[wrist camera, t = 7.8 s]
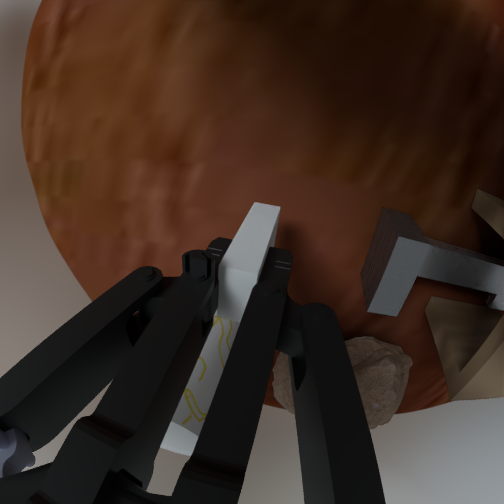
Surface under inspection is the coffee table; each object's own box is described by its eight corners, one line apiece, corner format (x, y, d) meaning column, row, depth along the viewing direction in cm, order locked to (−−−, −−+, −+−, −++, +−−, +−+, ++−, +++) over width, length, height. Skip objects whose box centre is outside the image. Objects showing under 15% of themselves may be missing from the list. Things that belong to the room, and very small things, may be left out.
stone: (410, 318, 24) (417, 355, 15) (409, 400, 23) (407, 459, 15) (293, 329, 30) (248, 361, 21) (301, 403, 29) (263, 452, 20)
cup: (260, 307, 24) (220, 437, 14) (238, 360, 28) (204, 463, 18) (171, 275, 24) (95, 383, 14) (166, 332, 28) (114, 425, 18)
